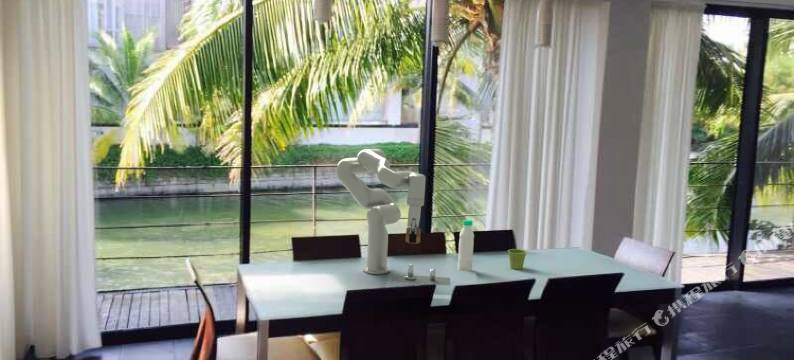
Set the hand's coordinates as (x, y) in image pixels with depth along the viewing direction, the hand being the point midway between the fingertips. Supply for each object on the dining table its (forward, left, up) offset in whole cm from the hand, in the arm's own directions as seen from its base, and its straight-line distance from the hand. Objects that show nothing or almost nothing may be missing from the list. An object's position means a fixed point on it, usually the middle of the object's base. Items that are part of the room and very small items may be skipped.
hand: (412, 240), depth 299 cm
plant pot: (-37, +51, -19) cm, 66 cm away
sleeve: (0, 0, -1) cm, 1 cm away
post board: (0, +5, -19) cm, 20 cm away
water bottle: (-26, +25, -19) cm, 41 cm away
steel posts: (0, +4, -18) cm, 18 cm away
